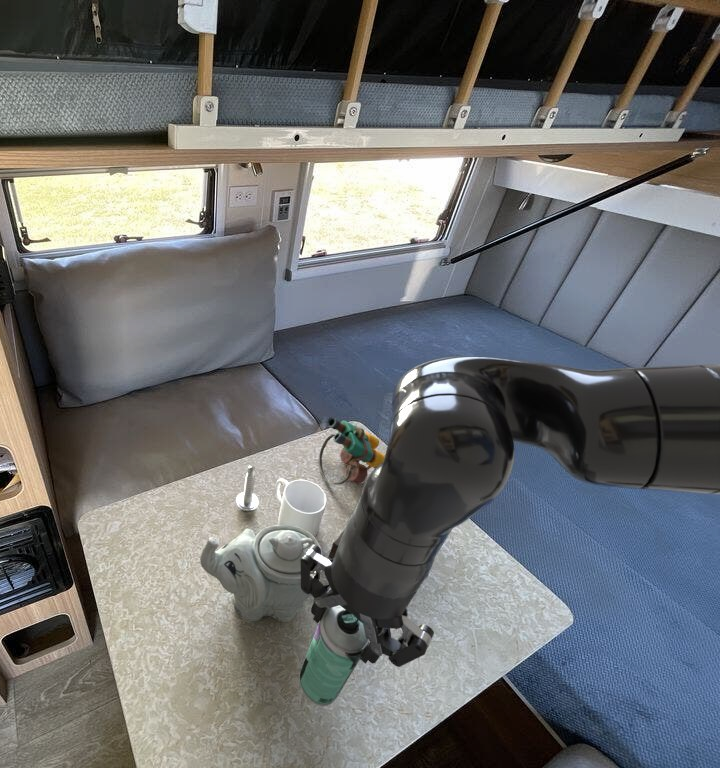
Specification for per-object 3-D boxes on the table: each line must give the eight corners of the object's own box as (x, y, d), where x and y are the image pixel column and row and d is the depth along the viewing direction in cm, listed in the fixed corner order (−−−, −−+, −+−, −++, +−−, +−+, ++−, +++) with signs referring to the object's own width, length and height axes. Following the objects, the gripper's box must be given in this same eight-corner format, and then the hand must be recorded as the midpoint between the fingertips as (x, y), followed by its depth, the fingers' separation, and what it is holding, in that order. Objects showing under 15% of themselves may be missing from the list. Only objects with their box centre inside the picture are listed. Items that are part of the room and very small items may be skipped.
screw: (231, 503, 89) (249, 494, 91) (243, 519, 86) (261, 510, 88) (235, 463, 81) (254, 454, 83) (248, 479, 78) (268, 470, 80)
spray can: (346, 688, 56) (386, 624, 44) (319, 716, 54) (354, 655, 42) (317, 652, 60) (347, 583, 48) (291, 676, 57) (315, 610, 46)
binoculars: (349, 503, 94) (399, 467, 86) (303, 482, 90) (352, 441, 82) (335, 459, 105) (378, 423, 98) (293, 437, 101) (335, 398, 93)
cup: (296, 551, 80) (304, 521, 74) (258, 508, 88) (263, 478, 82) (325, 532, 84) (335, 501, 78) (286, 492, 92) (293, 462, 86)
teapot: (196, 597, 73) (197, 536, 61) (244, 539, 82) (253, 478, 71) (273, 665, 64) (291, 610, 53) (318, 592, 74) (340, 533, 63)
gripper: (294, 534, 39) (274, 615, 49) (449, 647, 32) (388, 716, 42) (332, 490, 44) (306, 572, 54) (476, 579, 36) (415, 656, 46)
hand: (342, 634), depth 48 cm, fingers closed on spray can, 5 cm apart
